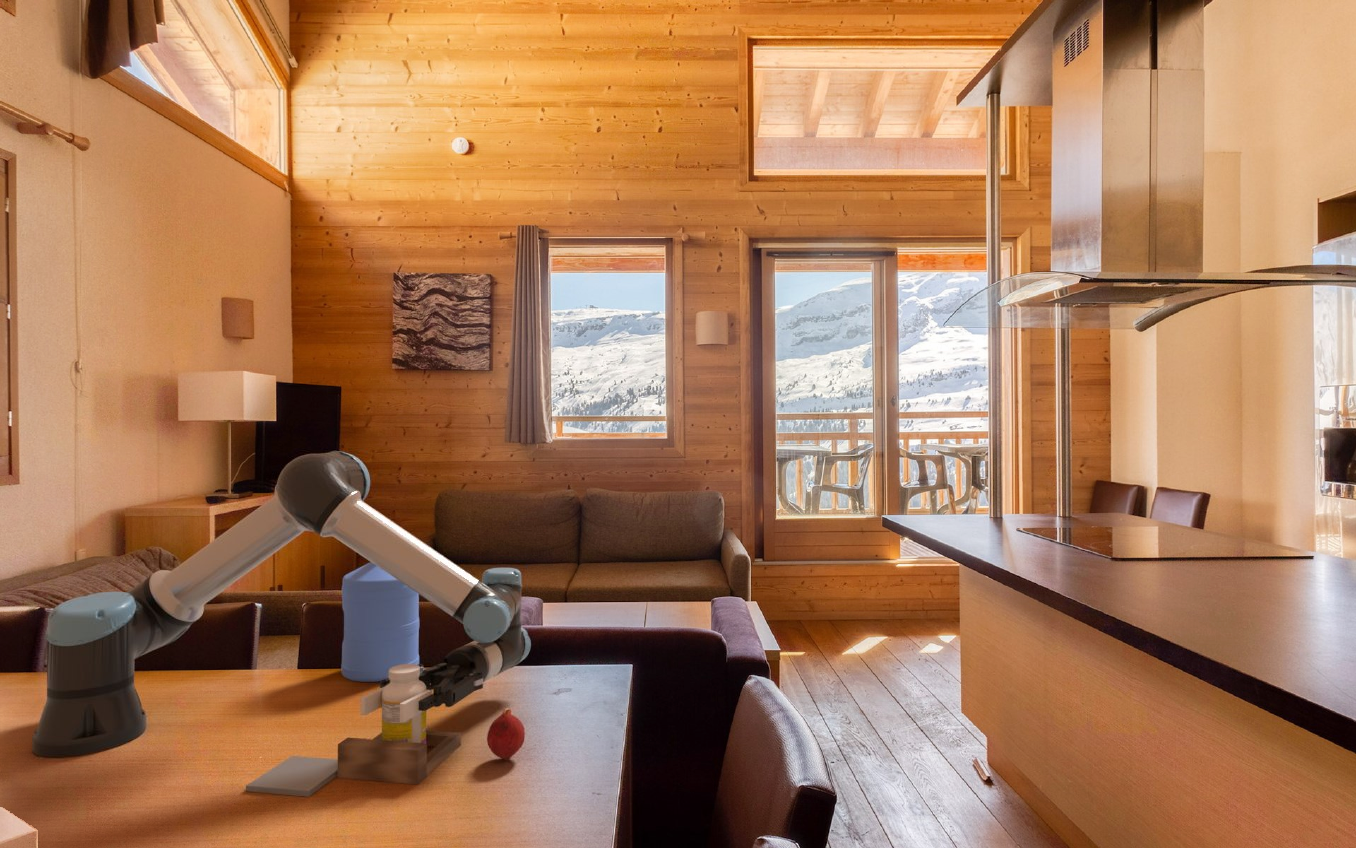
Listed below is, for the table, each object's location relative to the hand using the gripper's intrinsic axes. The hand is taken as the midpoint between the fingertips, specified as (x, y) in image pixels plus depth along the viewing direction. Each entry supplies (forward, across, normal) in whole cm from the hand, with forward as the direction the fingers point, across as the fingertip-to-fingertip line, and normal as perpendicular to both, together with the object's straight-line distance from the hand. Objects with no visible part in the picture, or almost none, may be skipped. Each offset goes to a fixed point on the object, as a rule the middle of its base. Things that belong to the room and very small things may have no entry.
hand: (382, 709), depth 114 cm
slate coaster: (+5, +10, -10) cm, 15 cm away
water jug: (-39, +34, -10) cm, 52 cm away
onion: (-10, -15, -10) cm, 21 cm away
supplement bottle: (-5, 0, -8) cm, 10 cm away
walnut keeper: (-5, 0, -10) cm, 11 cm away
